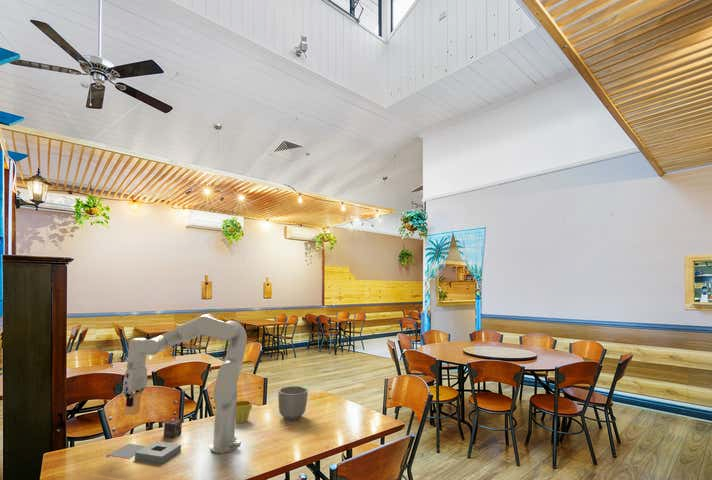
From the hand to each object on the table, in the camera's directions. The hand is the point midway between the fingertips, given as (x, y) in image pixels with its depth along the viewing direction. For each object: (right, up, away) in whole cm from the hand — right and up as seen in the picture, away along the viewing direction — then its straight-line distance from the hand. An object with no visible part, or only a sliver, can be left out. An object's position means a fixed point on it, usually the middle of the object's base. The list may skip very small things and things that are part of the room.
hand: (132, 404), depth 172 cm
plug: (0, -4, 0) cm, 4 cm away
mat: (-1, -21, -2) cm, 21 cm away
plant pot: (+39, -27, +37) cm, 60 cm away
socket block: (+15, -21, -6) cm, 27 cm away
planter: (+67, -28, +43) cm, 85 cm away
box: (+11, -24, +15) cm, 30 cm away
